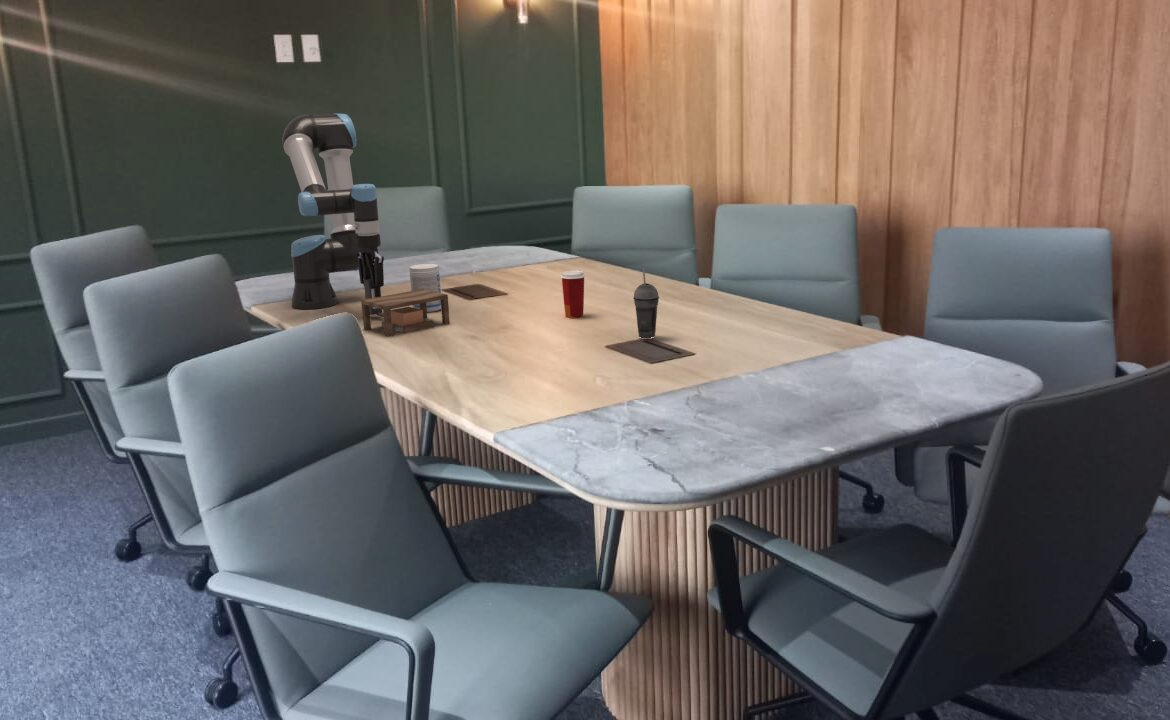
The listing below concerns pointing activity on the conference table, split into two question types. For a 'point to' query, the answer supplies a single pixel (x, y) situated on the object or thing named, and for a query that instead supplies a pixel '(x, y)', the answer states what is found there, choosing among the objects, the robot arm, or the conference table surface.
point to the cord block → (395, 310)
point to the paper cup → (573, 293)
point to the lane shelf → (402, 301)
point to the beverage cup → (646, 308)
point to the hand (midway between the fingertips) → (374, 307)
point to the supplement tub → (426, 282)
